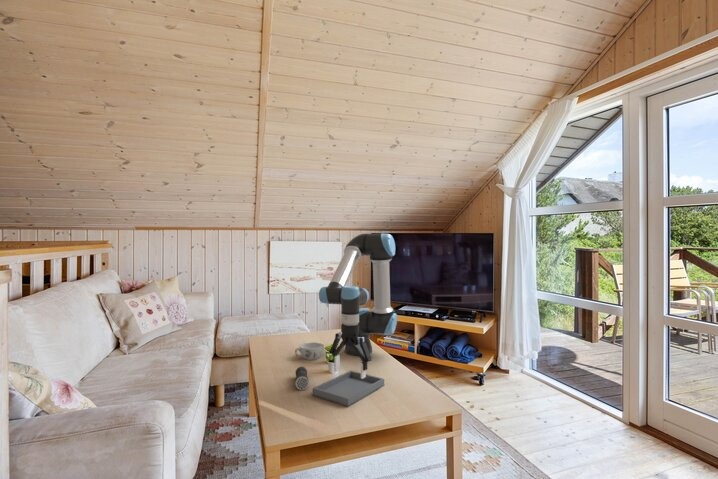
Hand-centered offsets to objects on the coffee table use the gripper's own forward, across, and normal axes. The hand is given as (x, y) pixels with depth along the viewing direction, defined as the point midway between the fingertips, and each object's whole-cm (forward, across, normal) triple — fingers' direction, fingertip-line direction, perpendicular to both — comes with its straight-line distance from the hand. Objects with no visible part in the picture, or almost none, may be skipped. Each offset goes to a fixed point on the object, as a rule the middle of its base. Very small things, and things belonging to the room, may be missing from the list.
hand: (349, 374), depth 158 cm
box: (+7, 0, 0) cm, 7 cm away
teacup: (+7, -41, +20) cm, 46 cm away
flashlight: (0, -24, 0) cm, 24 cm away
